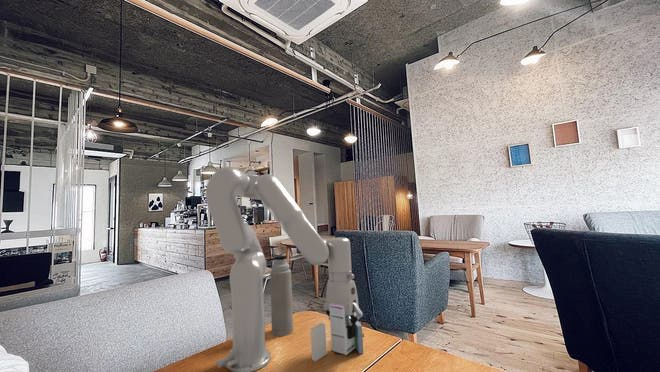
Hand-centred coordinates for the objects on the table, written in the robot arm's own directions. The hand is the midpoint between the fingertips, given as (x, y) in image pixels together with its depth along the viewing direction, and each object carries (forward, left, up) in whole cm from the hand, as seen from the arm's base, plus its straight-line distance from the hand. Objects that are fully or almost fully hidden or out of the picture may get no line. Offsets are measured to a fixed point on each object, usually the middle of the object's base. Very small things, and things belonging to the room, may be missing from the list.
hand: (343, 334), depth 87 cm
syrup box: (0, 0, -5) cm, 5 cm away
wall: (+2, +4, -5) cm, 7 cm away
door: (+6, -1, -5) cm, 8 cm away
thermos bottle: (-1, +28, -5) cm, 29 cm away
